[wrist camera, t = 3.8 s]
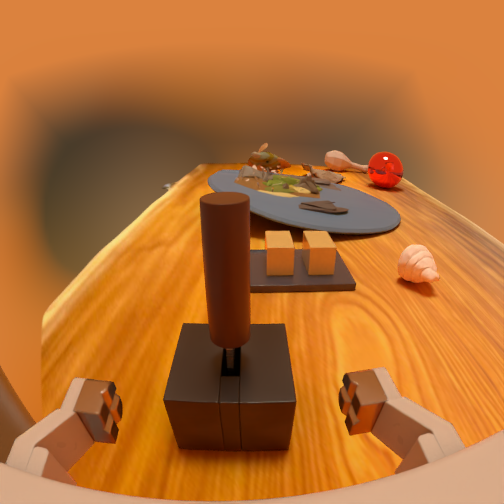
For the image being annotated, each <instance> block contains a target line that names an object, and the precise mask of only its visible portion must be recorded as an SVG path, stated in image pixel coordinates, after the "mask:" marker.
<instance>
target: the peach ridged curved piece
mask: <svg viewBox="0 0 504 504" xmlns="http://www.w3.org/2000/svg"><path fill="white" fill-rule="evenodd" d="M398 273H399V275H400V276H401V277H402V278H403V279H405V280H406V281H411V282H413V283H421V282H423V281H426V282H430V283H433V282H434V281H439V279H440V277H439V275H438V274H437V268H436V264H435V261H434V260H433V256H432V254H431V253H430V252H429V251H428V249H427V248H426V247H424V246H423V245H410V246H408V247H407V248H406V249H405V250H404V251H403V252H402V254H401V256H400V259H399V262H398Z"/></svg>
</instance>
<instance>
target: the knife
mask: <svg viewBox="0 0 504 504" xmlns="http://www.w3.org/2000/svg"><path fill="white" fill-rule="evenodd" d="M200 215H201V232H202V247H203V262H204V275H205V288H206V300H207V311H208V322H209V332H210V339H211V341H212V342H213V343H214V344H215V345H216V346H218V347H221V348H226V356H227V370H228V376H233V377H236V359H235V348H238V347H241V346H243V345H245V344H246V343H247V342H248V341H249V339H250V197H249V196H248V195H246V194H243V193H238V192H216V193H210V194H207V195H204V196H202V197H201V198H200Z"/></svg>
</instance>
